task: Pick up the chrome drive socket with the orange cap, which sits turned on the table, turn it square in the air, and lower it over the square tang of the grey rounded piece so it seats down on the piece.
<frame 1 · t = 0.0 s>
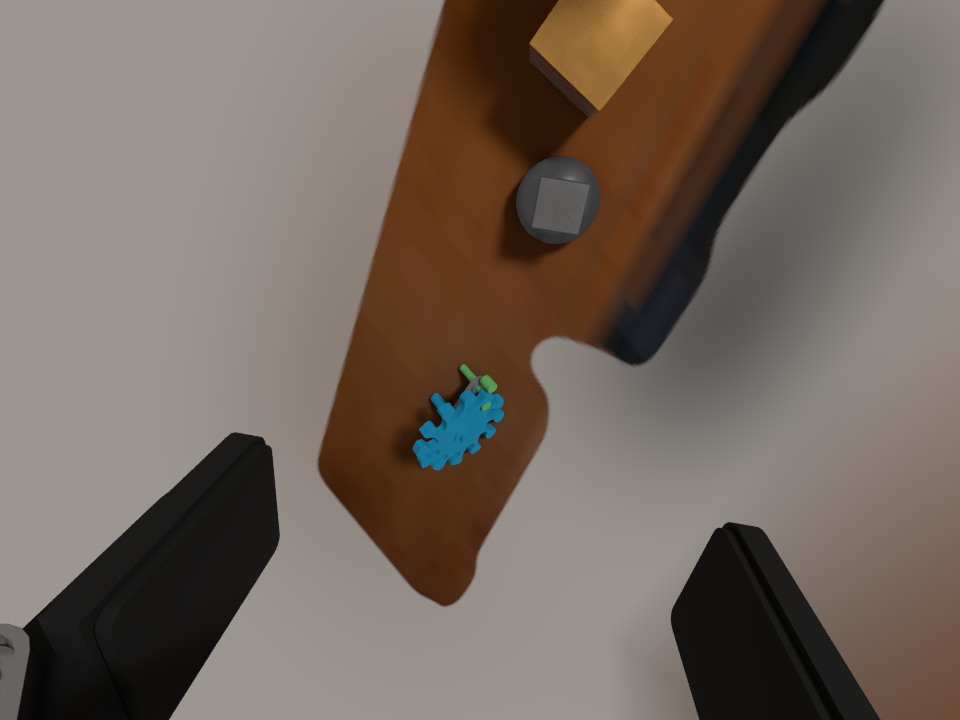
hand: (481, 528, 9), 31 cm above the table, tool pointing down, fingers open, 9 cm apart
grey rounded piece: (556, 199, 35), on the table
blue lumpy figure: (468, 404, 45), on the table
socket: (587, 52, 31), on the table
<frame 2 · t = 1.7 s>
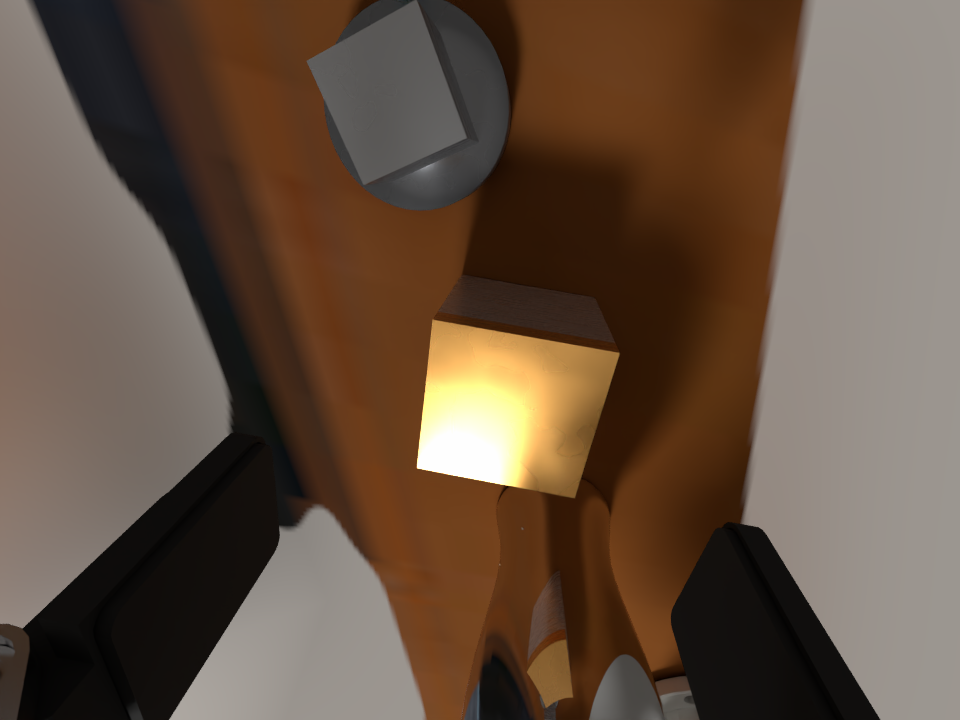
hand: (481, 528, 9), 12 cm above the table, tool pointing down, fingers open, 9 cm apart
grey rounded piece: (427, 117, 17), on the table
beer glass: (551, 511, 24), on the table
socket: (515, 346, 20), on the table
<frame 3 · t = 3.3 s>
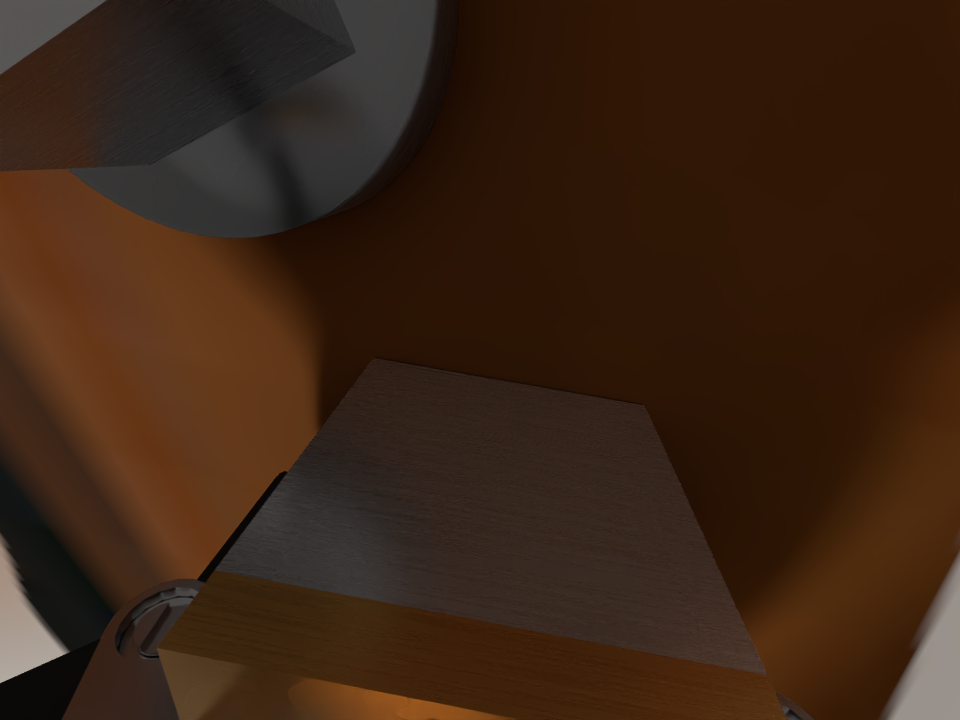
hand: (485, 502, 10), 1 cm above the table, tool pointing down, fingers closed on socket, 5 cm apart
grey rounded piece: (258, 8, 7), on the table
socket: (487, 485, 10), on the table, touching gripper
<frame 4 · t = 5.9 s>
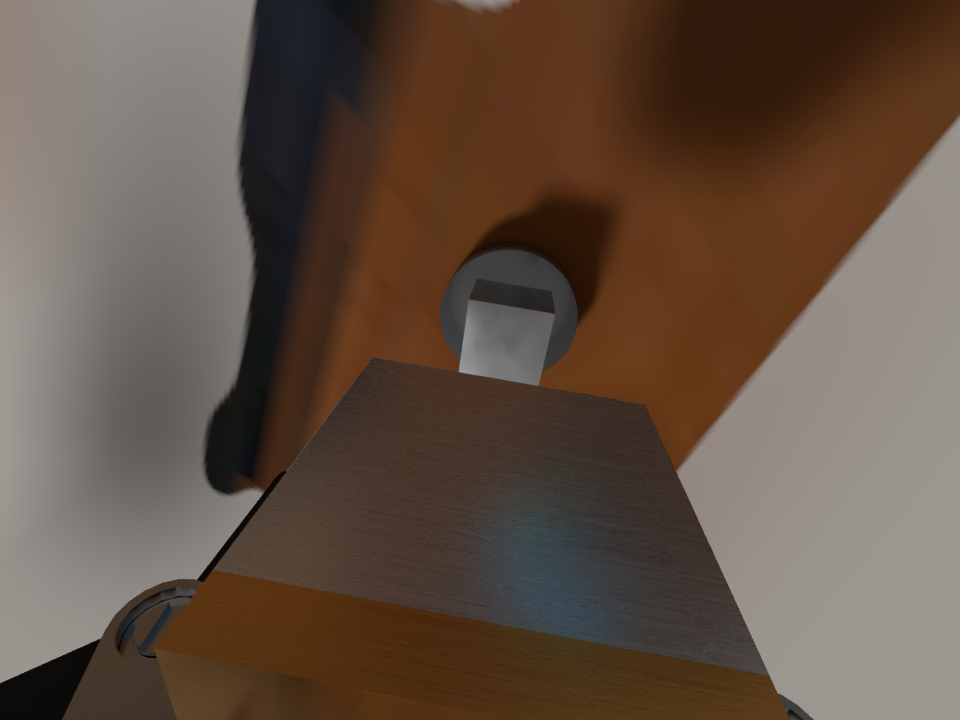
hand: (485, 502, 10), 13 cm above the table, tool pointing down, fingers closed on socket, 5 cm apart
grey rounded piece: (509, 305, 22), on the table
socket: (487, 485, 10), point 13 cm above the table, touching gripper
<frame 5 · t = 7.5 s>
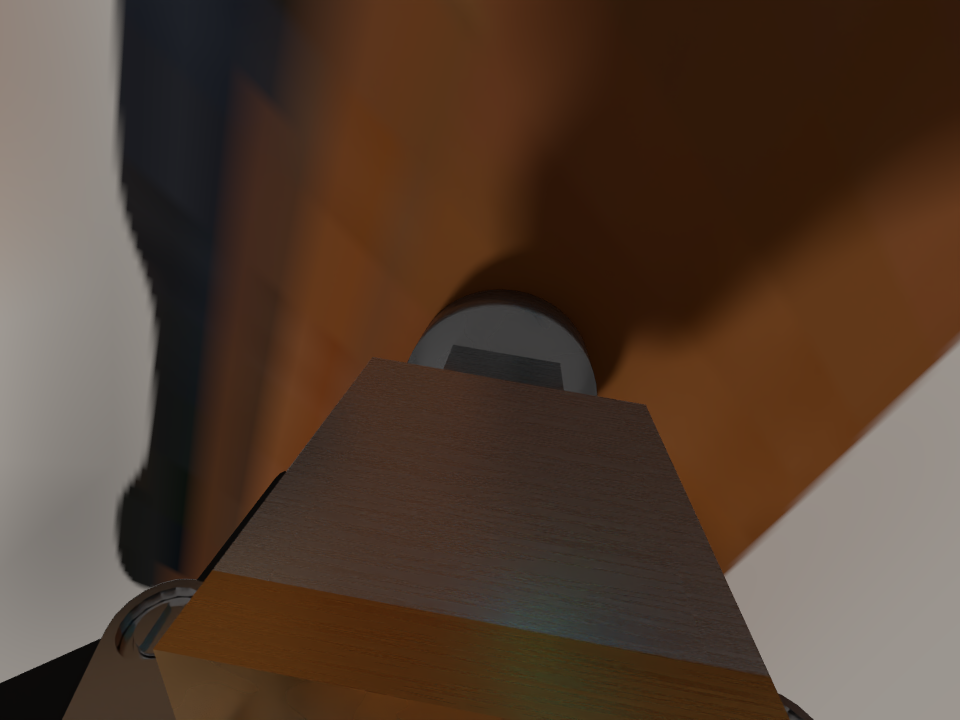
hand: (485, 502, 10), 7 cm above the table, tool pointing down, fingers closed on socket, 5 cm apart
grey rounded piece: (501, 372, 16), on the table
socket: (487, 485, 10), point 6 cm above the table, touching gripper
when the fingers open (4 cm above the table, at t = 8.6 s): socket drops 2 cm, resting on grey rounded piece.
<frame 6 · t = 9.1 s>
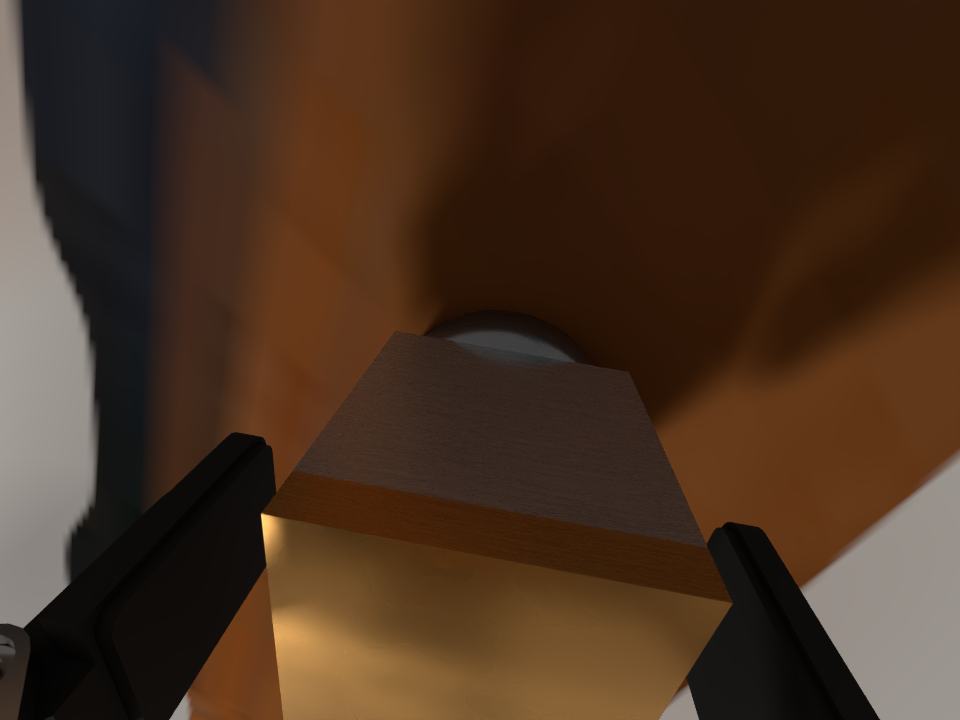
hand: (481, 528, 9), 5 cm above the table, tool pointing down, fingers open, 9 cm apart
grey rounded piece: (497, 405, 14), on the table, touching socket
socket: (492, 445, 12), point 2 cm above the table, touching grey rounded piece
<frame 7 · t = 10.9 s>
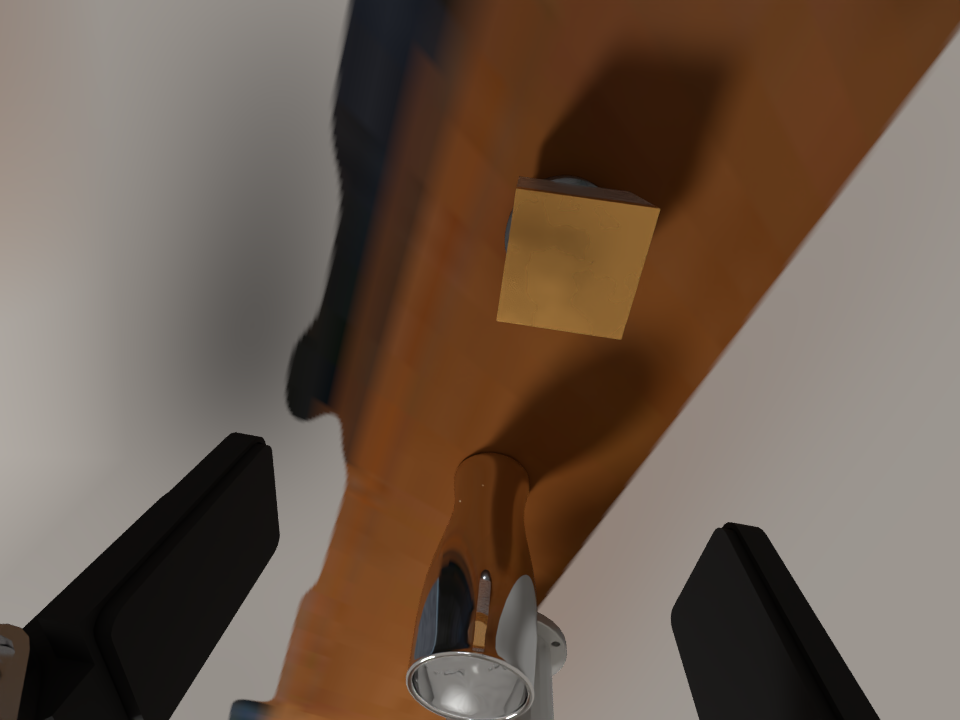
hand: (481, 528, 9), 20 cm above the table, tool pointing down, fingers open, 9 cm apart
grey rounded piece: (560, 233, 26), on the table, touching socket
beer glass: (492, 479, 35), on the table
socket: (562, 239, 24), point 2 cm above the table, touching grey rounded piece
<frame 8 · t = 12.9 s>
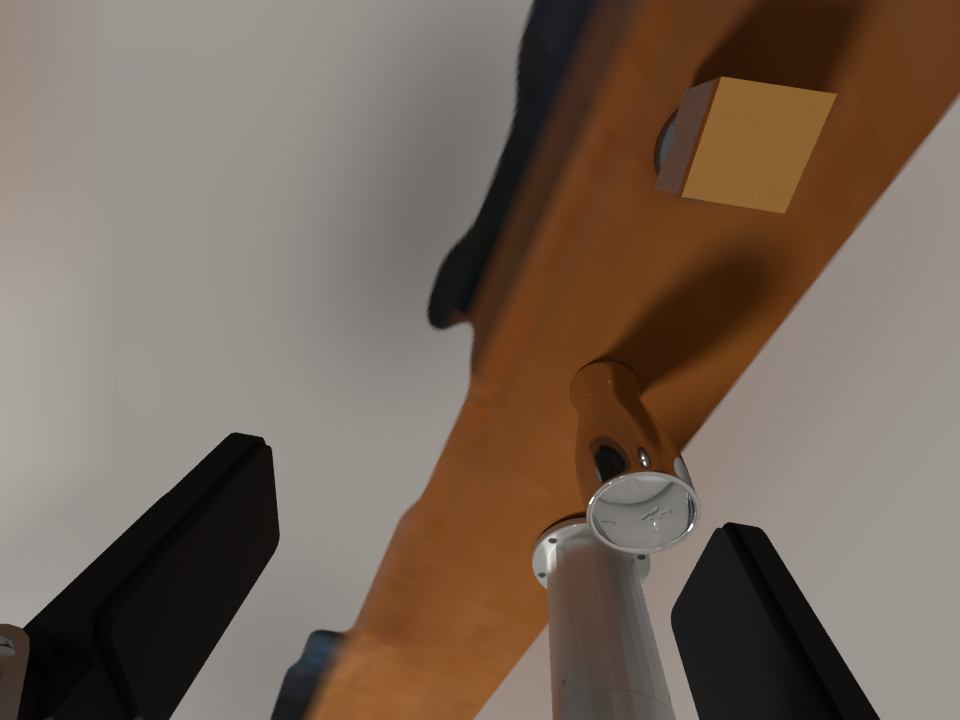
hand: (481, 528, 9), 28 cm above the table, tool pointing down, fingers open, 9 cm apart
grey rounded piece: (701, 149, 30), on the table, touching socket
beer glass: (603, 389, 39), on the table
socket: (712, 148, 29), point 2 cm above the table, touching grey rounded piece
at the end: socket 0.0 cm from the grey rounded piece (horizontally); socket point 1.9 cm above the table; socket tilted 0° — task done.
